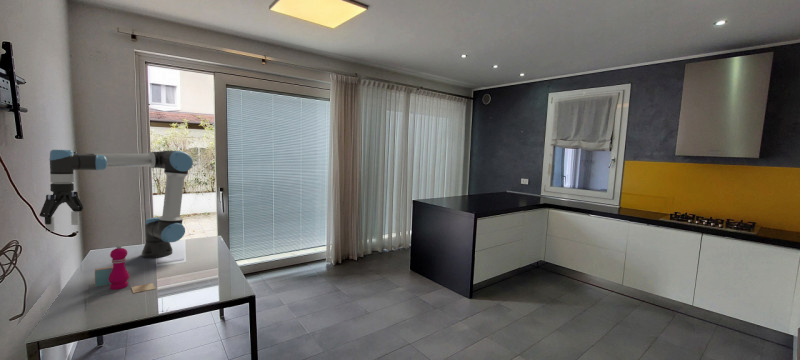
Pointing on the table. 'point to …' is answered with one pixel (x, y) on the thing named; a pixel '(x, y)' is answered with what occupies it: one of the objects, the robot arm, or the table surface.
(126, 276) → the pepper mill
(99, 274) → the tile
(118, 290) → the mat
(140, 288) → the cork pad
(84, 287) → the table surface
